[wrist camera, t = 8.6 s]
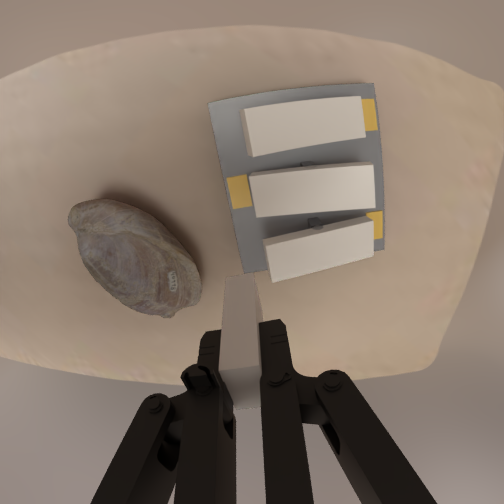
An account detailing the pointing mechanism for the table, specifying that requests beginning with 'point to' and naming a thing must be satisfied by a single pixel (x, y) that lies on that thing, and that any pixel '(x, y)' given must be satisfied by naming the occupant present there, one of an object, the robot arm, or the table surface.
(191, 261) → the seashell
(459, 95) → the table surface
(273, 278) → the rocker
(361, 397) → the robot arm
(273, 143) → the plate
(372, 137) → the switch unit
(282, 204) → the rocker
